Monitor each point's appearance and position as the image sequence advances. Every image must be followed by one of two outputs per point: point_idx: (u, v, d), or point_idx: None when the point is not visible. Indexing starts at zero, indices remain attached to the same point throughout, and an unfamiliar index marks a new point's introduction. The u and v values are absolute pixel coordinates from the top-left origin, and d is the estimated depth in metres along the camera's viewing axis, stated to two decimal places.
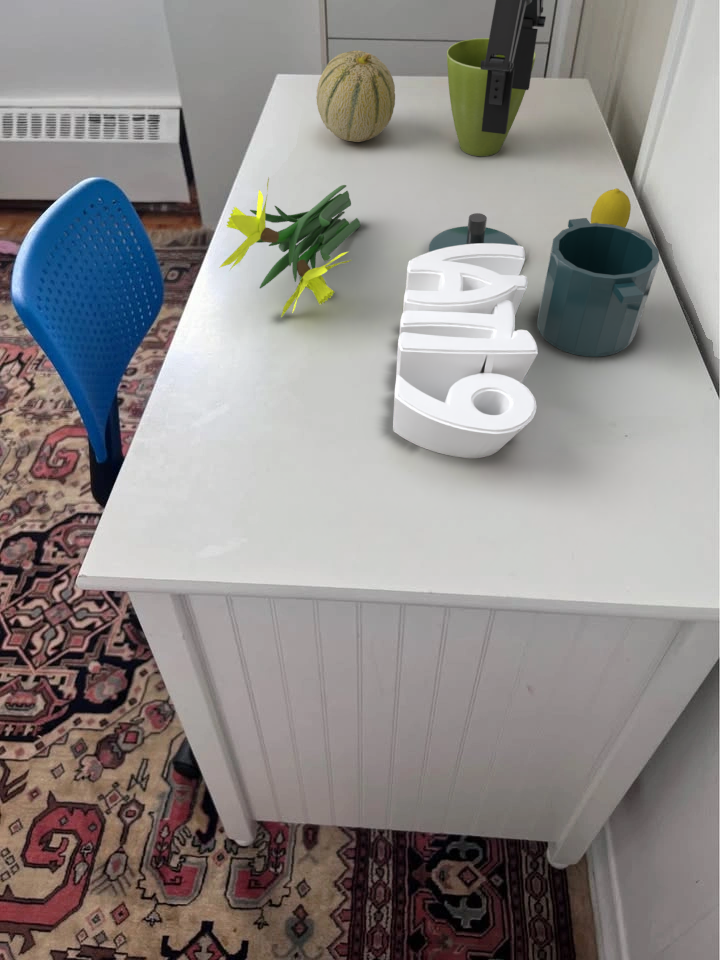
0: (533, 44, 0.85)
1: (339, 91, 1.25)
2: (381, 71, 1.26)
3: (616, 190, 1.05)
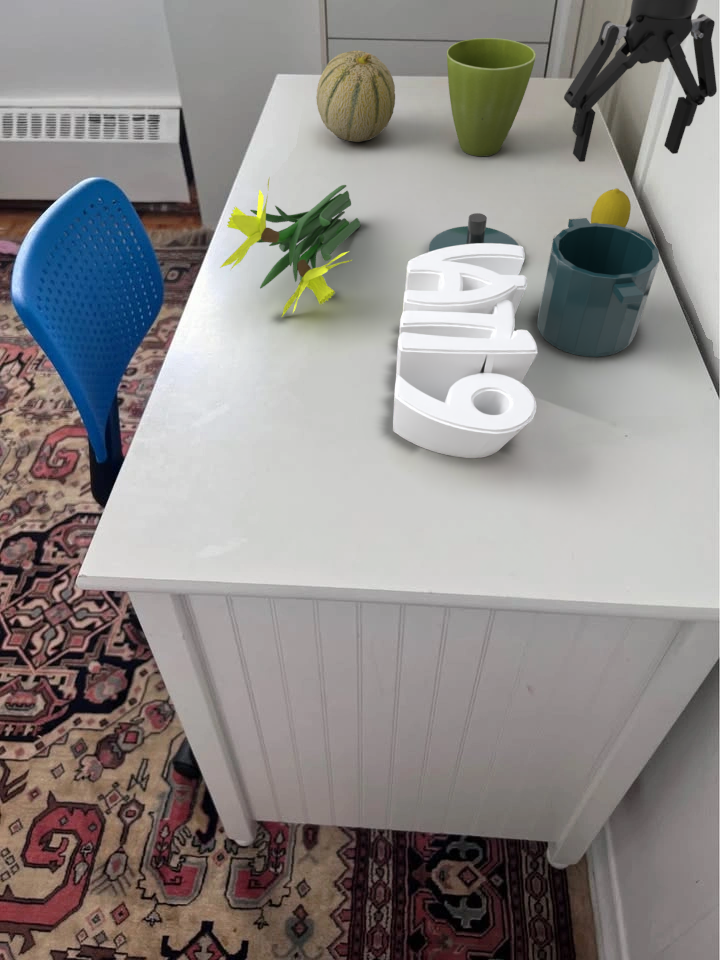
0: (683, 115, 0.97)
1: (339, 91, 1.25)
2: (381, 71, 1.26)
3: (616, 190, 1.05)
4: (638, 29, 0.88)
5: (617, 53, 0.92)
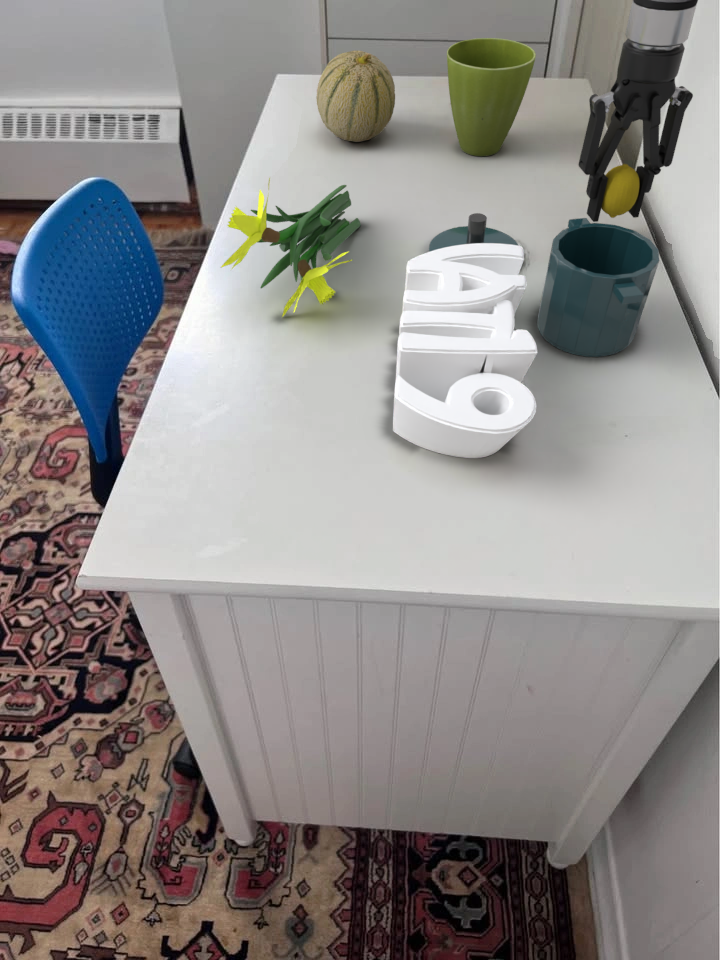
0: (642, 184, 1.03)
1: (339, 91, 1.25)
2: (381, 71, 1.26)
3: (624, 165, 1.02)
4: (624, 91, 0.93)
5: (612, 118, 0.98)
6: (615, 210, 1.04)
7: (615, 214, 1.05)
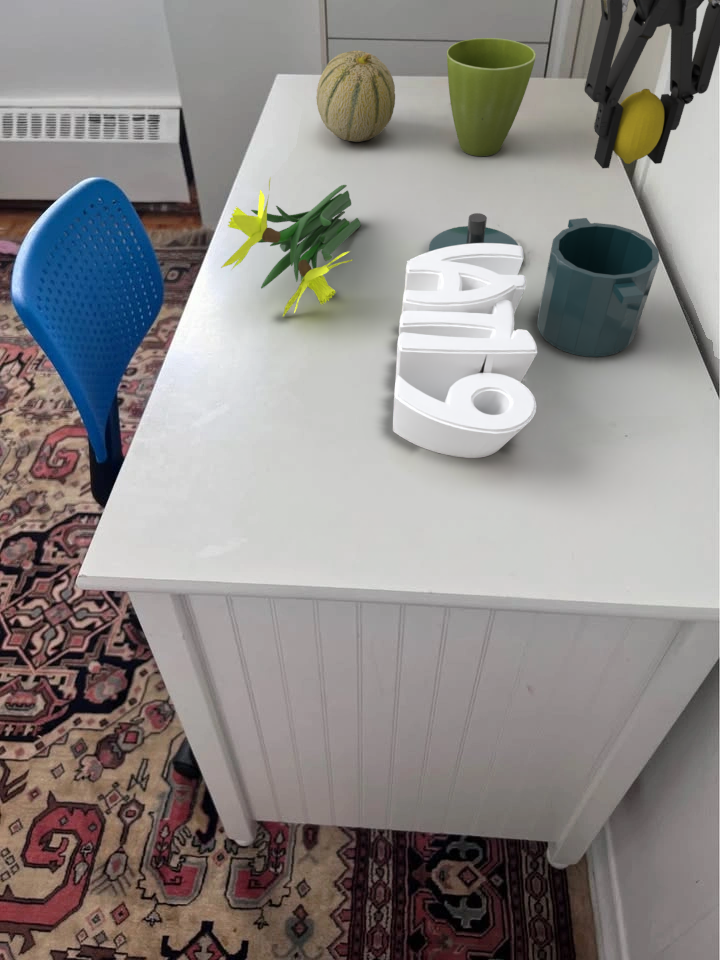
0: (667, 117, 0.78)
1: (339, 91, 1.25)
2: (381, 71, 1.26)
3: (645, 91, 0.77)
4: None
5: (630, 24, 0.73)
6: (631, 151, 0.80)
7: (631, 158, 0.81)
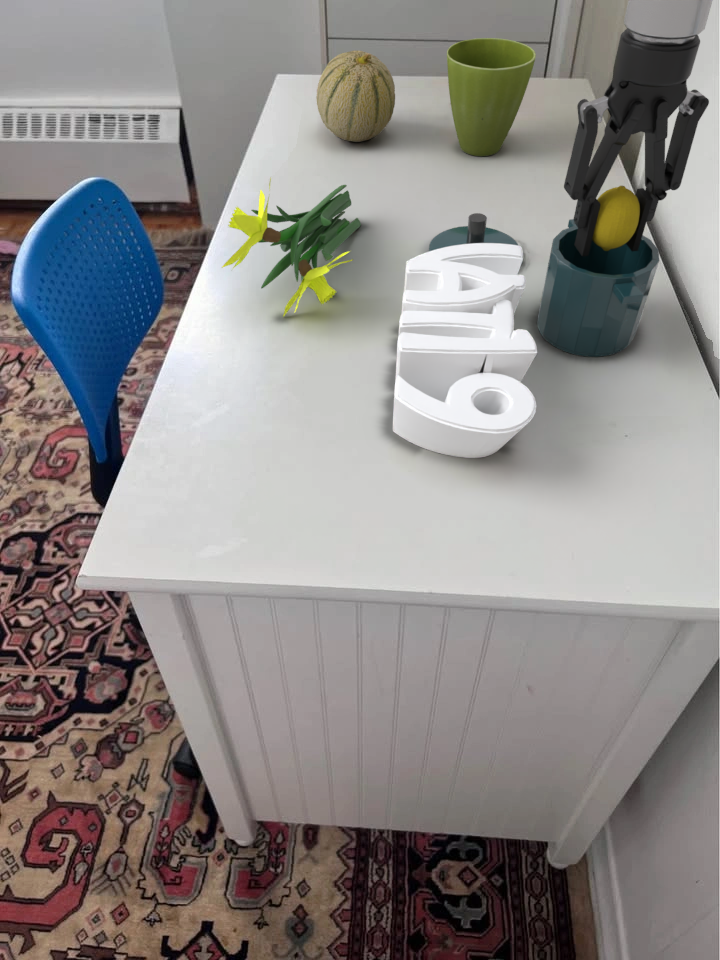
0: (642, 211, 0.83)
1: (339, 91, 1.25)
2: (381, 71, 1.26)
3: (621, 188, 0.81)
4: (622, 96, 0.73)
5: (606, 129, 0.78)
6: (609, 243, 0.84)
7: (609, 247, 0.85)
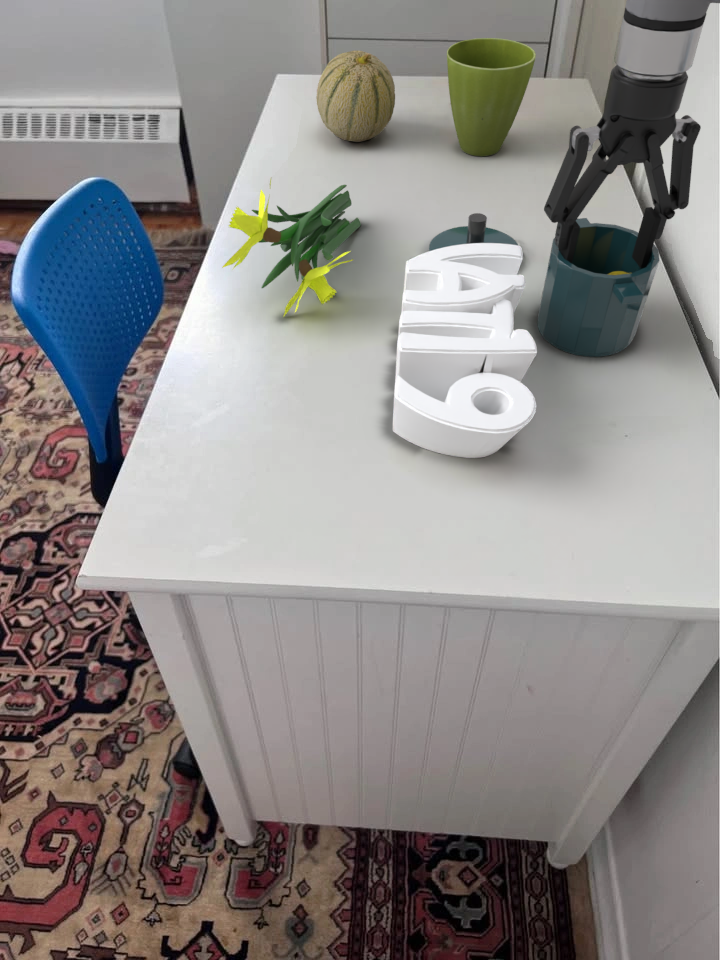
0: (651, 229, 0.85)
1: (339, 91, 1.25)
2: (381, 71, 1.26)
3: None
4: (613, 129, 0.75)
5: (594, 157, 0.80)
6: None
7: None
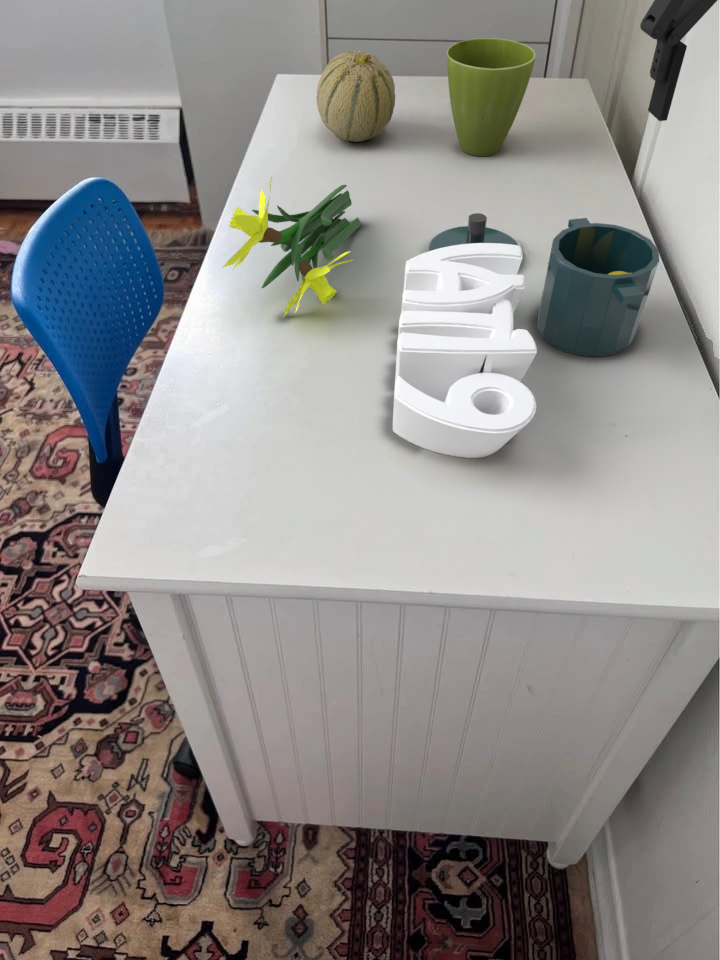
0: None
1: (339, 91, 1.25)
2: (381, 71, 1.26)
3: None
4: None
5: None
6: None
7: None
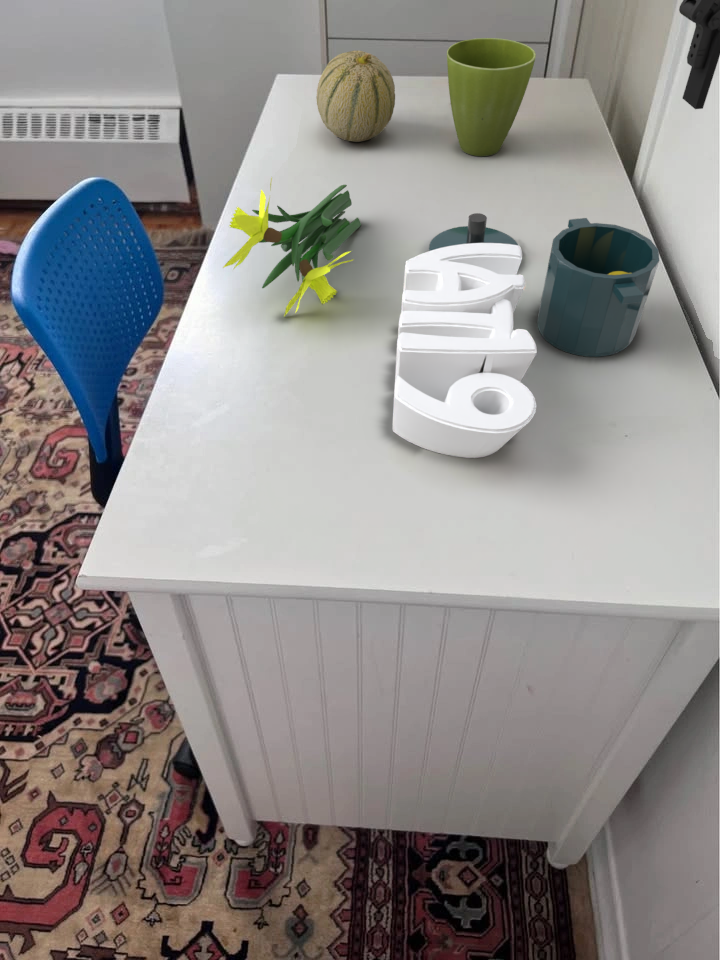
0: None
1: (339, 91, 1.25)
2: (381, 71, 1.26)
3: None
4: None
5: None
6: None
7: None
